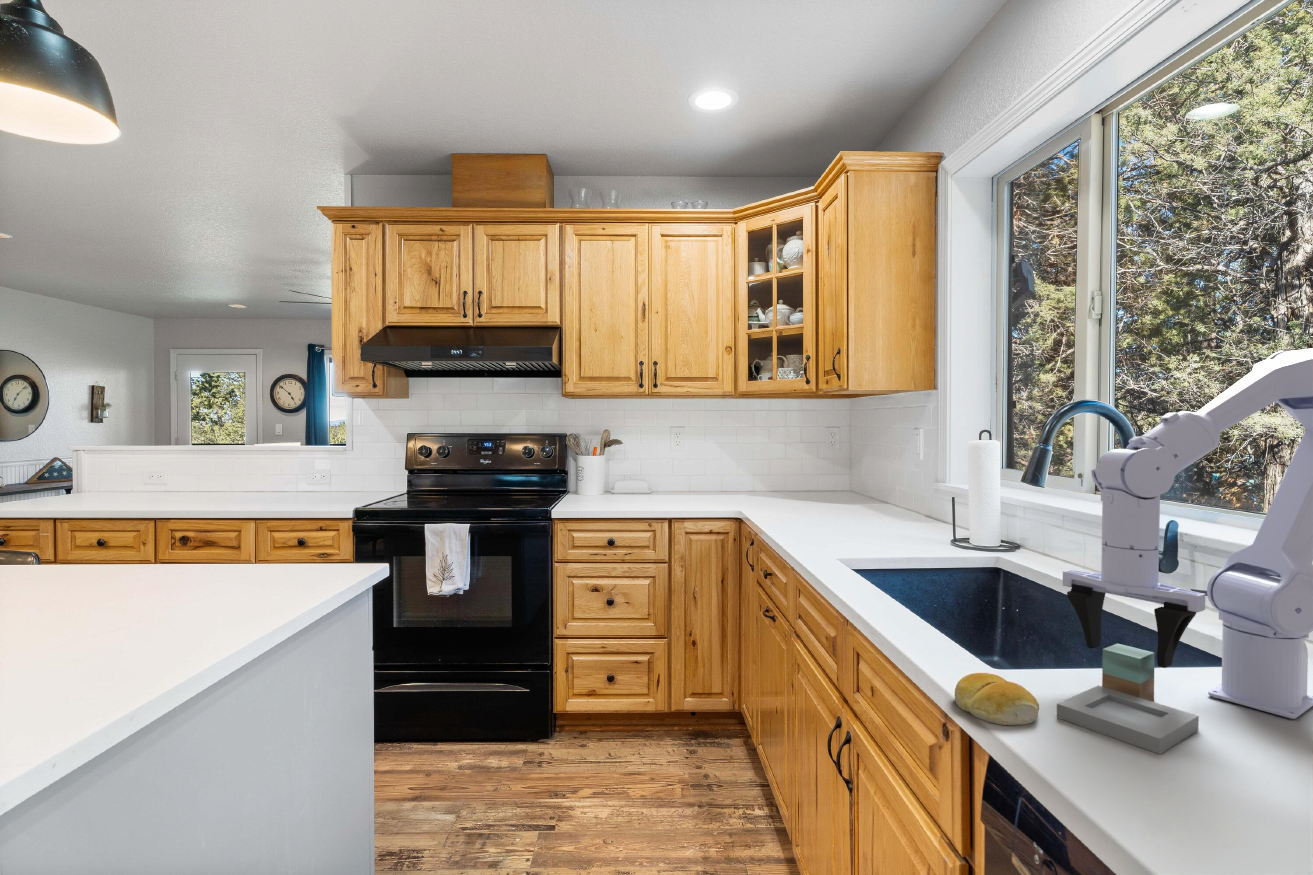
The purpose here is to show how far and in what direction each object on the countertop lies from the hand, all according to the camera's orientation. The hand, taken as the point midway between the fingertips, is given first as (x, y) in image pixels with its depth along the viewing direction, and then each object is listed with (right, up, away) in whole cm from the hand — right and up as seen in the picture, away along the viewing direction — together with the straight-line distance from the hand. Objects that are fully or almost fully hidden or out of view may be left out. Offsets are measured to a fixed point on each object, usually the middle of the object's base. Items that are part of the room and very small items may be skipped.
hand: (1127, 655), depth 80 cm
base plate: (-5, -5, -7) cm, 10 cm away
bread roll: (-18, -6, -3) cm, 19 cm away
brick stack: (0, -5, 0) cm, 5 cm away
